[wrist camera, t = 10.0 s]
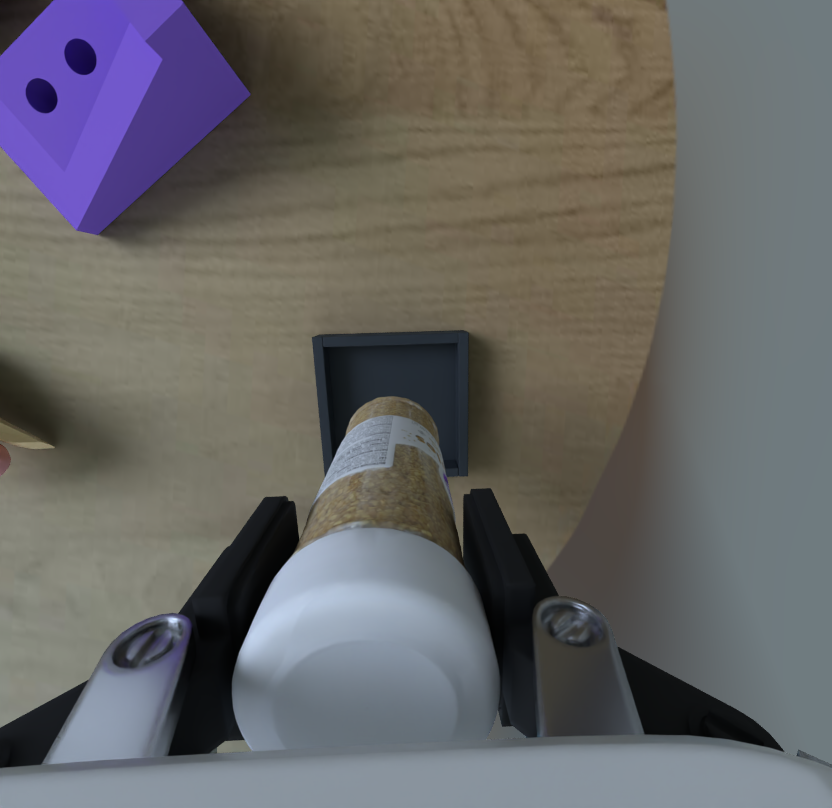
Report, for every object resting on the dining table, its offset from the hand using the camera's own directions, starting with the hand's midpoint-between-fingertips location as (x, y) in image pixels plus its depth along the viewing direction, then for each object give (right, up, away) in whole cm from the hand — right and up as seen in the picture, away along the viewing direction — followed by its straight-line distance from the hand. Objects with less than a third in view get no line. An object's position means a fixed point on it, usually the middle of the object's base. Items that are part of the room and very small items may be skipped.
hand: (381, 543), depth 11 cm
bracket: (-15, +20, +11) cm, 27 cm away
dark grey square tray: (-1, +4, +15) cm, 16 cm away
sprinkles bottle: (0, +2, +9) cm, 9 cm away
